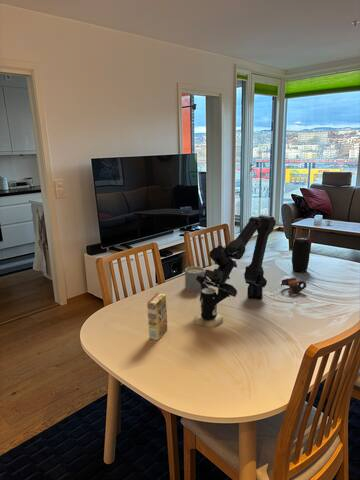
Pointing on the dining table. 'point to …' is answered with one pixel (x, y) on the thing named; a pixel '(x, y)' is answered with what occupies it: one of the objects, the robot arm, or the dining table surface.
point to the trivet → (208, 321)
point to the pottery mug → (294, 285)
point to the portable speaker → (300, 254)
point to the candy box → (157, 316)
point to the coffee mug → (193, 278)
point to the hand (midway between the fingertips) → (206, 303)
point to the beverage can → (208, 304)
